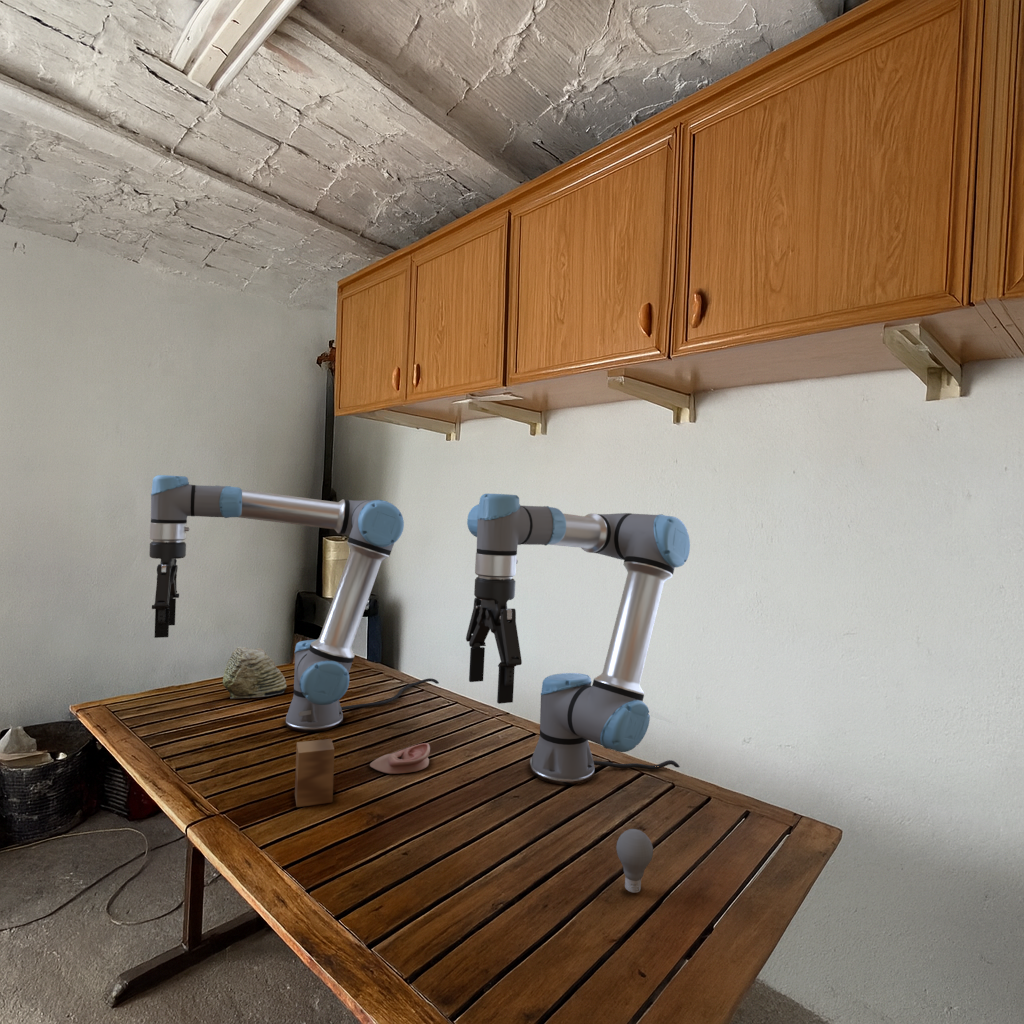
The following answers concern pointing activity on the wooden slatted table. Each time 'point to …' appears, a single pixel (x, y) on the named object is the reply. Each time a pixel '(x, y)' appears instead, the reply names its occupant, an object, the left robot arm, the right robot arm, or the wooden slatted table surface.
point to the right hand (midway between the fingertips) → (489, 691)
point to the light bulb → (634, 857)
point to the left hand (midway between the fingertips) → (165, 631)
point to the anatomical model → (404, 760)
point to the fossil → (252, 674)
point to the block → (314, 772)
